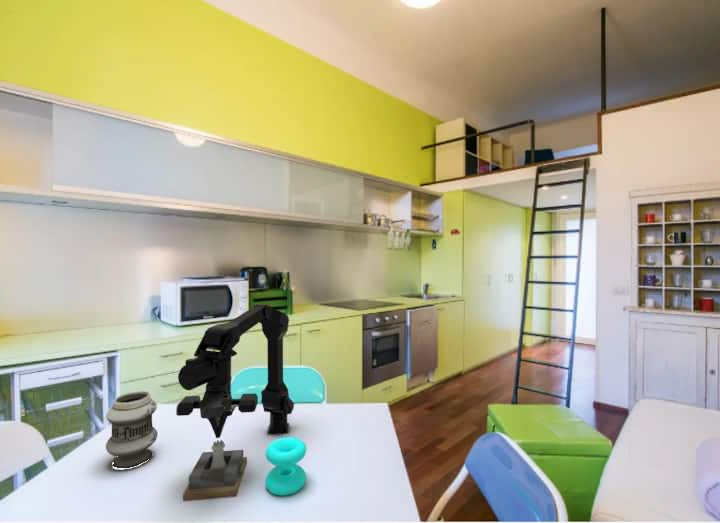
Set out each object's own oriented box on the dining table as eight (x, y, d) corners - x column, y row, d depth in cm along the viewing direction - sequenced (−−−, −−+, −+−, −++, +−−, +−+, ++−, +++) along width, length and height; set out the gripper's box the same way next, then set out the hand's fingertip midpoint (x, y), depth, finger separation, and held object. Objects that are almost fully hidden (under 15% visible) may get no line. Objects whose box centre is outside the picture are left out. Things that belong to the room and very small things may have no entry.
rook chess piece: (231, 471, 89) (231, 440, 89) (217, 481, 85) (217, 449, 85) (219, 466, 91) (219, 436, 91) (204, 476, 87) (205, 444, 87)
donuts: (301, 456, 81) (260, 455, 81) (301, 498, 81) (259, 497, 81) (309, 435, 91) (272, 434, 91) (309, 473, 91) (271, 471, 91)
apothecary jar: (101, 460, 96) (102, 396, 96) (149, 443, 104) (150, 385, 104) (111, 479, 87) (112, 409, 87) (163, 459, 96) (164, 396, 96)
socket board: (201, 465, 94) (201, 449, 94) (247, 462, 95) (247, 446, 95) (182, 500, 80) (183, 481, 80) (236, 496, 82) (236, 477, 82)
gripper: (167, 389, 78) (166, 457, 78) (251, 386, 81) (250, 452, 81) (185, 373, 89) (184, 433, 89) (258, 371, 92) (257, 429, 92)
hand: (218, 437), depth 88 cm, fingers closed
